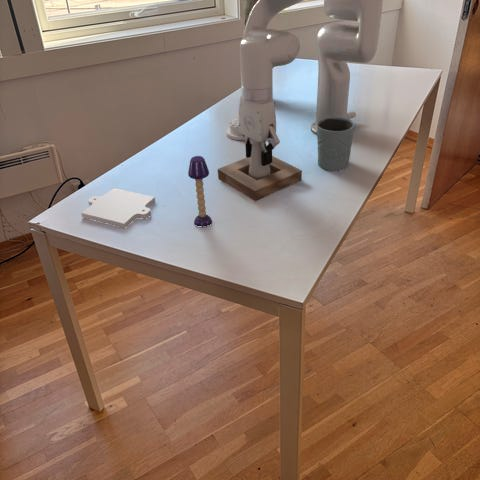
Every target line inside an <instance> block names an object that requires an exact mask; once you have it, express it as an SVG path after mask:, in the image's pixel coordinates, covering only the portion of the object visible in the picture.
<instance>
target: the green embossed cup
mask: <svg viewBox="0 0 480 480" xmlns="http://www.w3.org/2000/svg"><path fill="white" fill-rule="evenodd" d="M355 126H356V125H355V122H354V121H353V120H352V119H350V120H349V119H346V118H341V117H330V118H324V119H321V120H320V121H318V123H317V134H316V135H317V136H316V137H317V139H316V141H317V142H316V143H317V165H318V167H319V168H320V169H322V170H324V171H328V172H341V171H340V170H342V171H344V170H346V169H348V167H349V163H350V157H351V151H352V146H353V145H352V144H353V138H354V133H355ZM343 169H344V170H343Z"/></svg>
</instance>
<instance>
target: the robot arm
mask: <svg viewBox="0 0 480 480" xmlns="http://www.w3.org/2000/svg"><path fill="white" fill-rule="evenodd" d="M301 2H304V0H259V1H258V2H257V3H256V4H255V6H254V7H253V9H252V11H251V13H250V15H249V18H248V21H247V24H246V27H245V26H244V28H245V30H243V34H242V39H241V41H240V43H239V63H240V64H239V65H240V66H239V67H240V83H241V85H240V86H241V95H240V97H239V103H238V104H239V105H238V119H239V125H238V127H239V131H240V133H241V134H242V135H243V137H244V140H243V142H244V144H245V146H244V147H245V158H249V157H251V151H252V144H251V143H250V138H251V139H253V140H255V141H257V142H260V143H261V145H262V149H263V151H262V152H261V164H262V166H266V165H268V164H270V163H272V156H273V150H274V149H275V148H276V147H277V146H278V145H279V144H280V143H281V141H280V138H279V137H278V134H277V115H276V109H275V102H274V99H273V95H274V93H273V91H274V90H273V88H274V87H273V86H274V85H273V83H274V82H273V75H274V74H273V73H274V72H273V70H274V68H275V67H281V66H286V65H288V64H291V63H293V61H295V59H297V57H298V56H299V52H300V48H301V45H300V41H299V38H298V36H297V35H296V34H294V33H293V32H290V31H287V30H280V29H273V28H272V29H271V28H268V25H269V24H270V22H271V21H272V19H273V18H274V17H276V15H278V14H279V13H281V12H282V11H284V10H285V9H287V8H290V7H293V6H294V5H296V4H297V5H298V3H301ZM383 3H384V0H323V9H324V14H325V15H326V16H327V18H330V19H335V20H341V21H351V22H357V23H358V25H353V24H346V23H328V24H326V25H324V26H322V27H321V28H320V29H319V31H318V32H317V35H316V38H315V39H316V42H315V44H316V45H315V47H316V54H317V66H318V68H317V69H318V72H317V73H318V74H317V75H318V76H317V93H316V94H317V95H316V112H315V113H316V116H315V121H314V122H312V124H311V125H310V130H311V132H312V133H313V134H315V135H317V123H318V121H320V120H321V119H324V118H330V117H341V118H346V119H349V120H352V119H353V118H356V116H357V113H356V112H355V111H350V112H349V113H348V106H349V105H348V104H349V97H350V96H349V95H350V92H349V91H350V83H351V72H350V71H351V70H350V68H349V66H348V62H349V63H356V64H367V63H370V62H371V61H372V60H373V59H374V58H375V56H376V53H377V50H378V45H379V38H380V37H379V35H380V29H381V28H380V27H381V21H382V11H383ZM266 28H267V29H266ZM265 142H266V143H268V144H266V143H265Z"/></svg>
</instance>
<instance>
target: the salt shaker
mask: <svg viewBox="0 0 480 480" xmlns="http://www.w3.org/2000/svg"><path fill="white" fill-rule="evenodd" d="M250 143H251V144H252V151H251V159H250V167H249V175H248V176H250V177H252V178H253V179H255V180H260V179H262V178H264V177H267V176H269V175H271V174H270V166H269V164H268V165H266V166H262V164H261V152H262V151H263V149H262V145H261V143H260V142H257V141H255V140H253V139H251V138H250ZM265 143H267V141H266V142H265Z"/></svg>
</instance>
